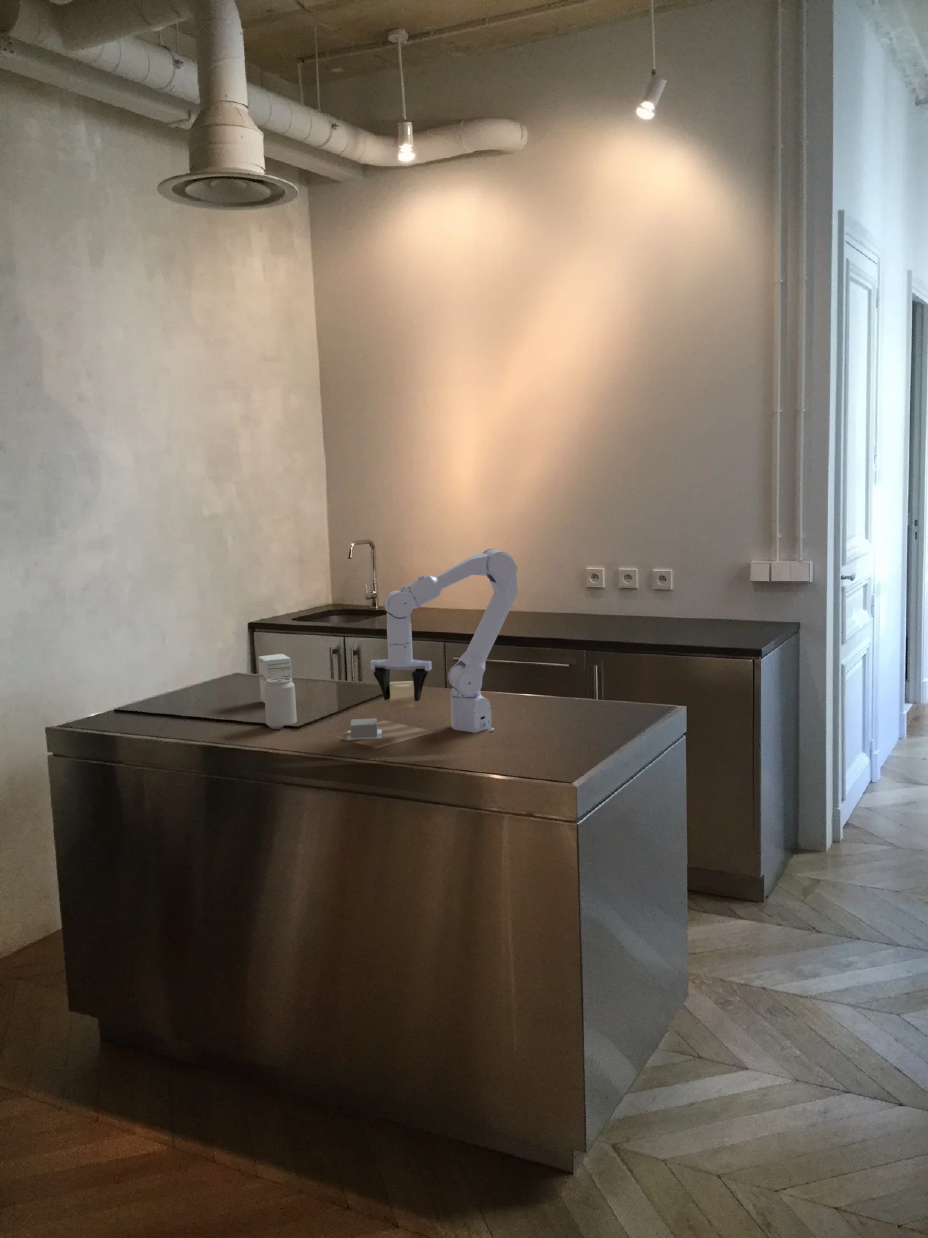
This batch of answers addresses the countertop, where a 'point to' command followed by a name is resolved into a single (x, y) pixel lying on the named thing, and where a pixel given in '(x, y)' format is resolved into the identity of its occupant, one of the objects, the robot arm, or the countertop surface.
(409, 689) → the maple cube
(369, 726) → the grey base block
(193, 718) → the countertop surface
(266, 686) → the can
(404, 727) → the board
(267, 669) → the supplement box
